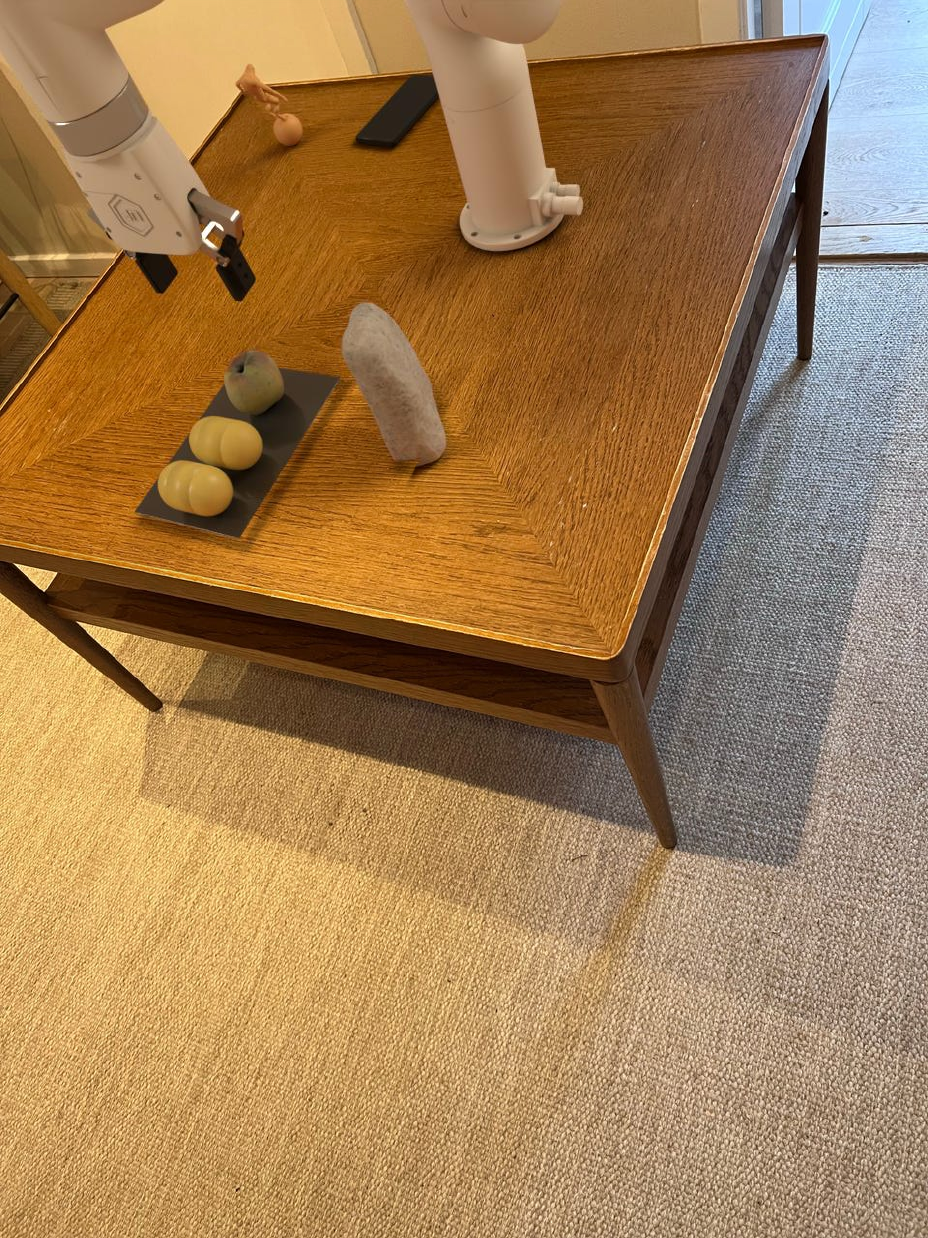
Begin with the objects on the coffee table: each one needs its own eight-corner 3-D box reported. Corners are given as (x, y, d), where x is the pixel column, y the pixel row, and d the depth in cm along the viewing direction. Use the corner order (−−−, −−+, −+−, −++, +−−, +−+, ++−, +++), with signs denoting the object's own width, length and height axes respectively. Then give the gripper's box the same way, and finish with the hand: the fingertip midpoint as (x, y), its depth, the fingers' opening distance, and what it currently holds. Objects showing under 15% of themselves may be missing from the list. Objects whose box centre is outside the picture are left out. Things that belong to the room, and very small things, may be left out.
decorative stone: (387, 398, 96) (336, 283, 84) (441, 384, 95) (398, 265, 83) (391, 475, 90) (337, 363, 78) (449, 461, 89) (404, 345, 77)
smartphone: (352, 137, 123) (411, 73, 128) (354, 143, 124) (413, 79, 129) (392, 142, 120) (451, 76, 125) (394, 148, 121) (452, 82, 126)
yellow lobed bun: (279, 447, 94) (258, 413, 90) (255, 484, 92) (232, 451, 88) (219, 435, 97) (196, 402, 93) (195, 471, 95) (171, 438, 91)
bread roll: (250, 491, 92) (227, 459, 87) (225, 530, 90) (201, 499, 85) (190, 478, 95) (165, 446, 91) (164, 515, 93) (138, 484, 89)
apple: (311, 378, 98) (289, 337, 93) (266, 431, 96) (241, 391, 91) (271, 366, 101) (248, 325, 96) (227, 417, 98) (201, 377, 94)
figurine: (323, 138, 127) (288, 49, 117) (297, 164, 125) (259, 77, 115) (281, 130, 131) (245, 44, 121) (255, 156, 129) (216, 70, 119)
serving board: (345, 386, 99) (341, 376, 97) (245, 547, 90) (238, 538, 89) (245, 371, 104) (239, 361, 103) (141, 520, 96) (133, 512, 94)
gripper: (0, 145, 75) (120, 307, 89) (155, 147, 67) (259, 323, 82) (51, 89, 77) (159, 255, 92) (206, 85, 70) (297, 265, 84)
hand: (206, 287), depth 87 cm, fingers open, 9 cm apart
